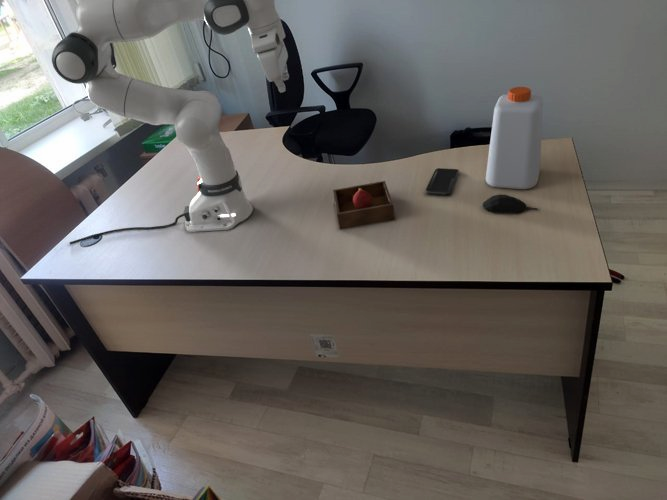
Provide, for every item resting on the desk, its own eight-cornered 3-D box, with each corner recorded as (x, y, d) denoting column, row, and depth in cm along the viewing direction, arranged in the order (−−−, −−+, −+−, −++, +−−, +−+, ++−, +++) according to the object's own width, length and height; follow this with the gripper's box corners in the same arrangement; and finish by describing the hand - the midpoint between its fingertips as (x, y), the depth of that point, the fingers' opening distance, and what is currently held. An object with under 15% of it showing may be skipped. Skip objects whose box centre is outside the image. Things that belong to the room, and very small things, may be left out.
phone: (425, 191, 149) (436, 167, 160) (425, 194, 150) (436, 170, 160) (450, 193, 146) (459, 169, 157) (450, 196, 147) (459, 172, 157)
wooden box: (339, 229, 142) (336, 214, 139) (335, 204, 154) (333, 189, 150) (394, 219, 142) (393, 204, 138) (386, 195, 153) (384, 180, 150)
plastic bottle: (491, 164, 158) (496, 80, 141) (540, 167, 152) (551, 80, 135) (483, 188, 148) (486, 100, 131) (535, 192, 142) (546, 100, 125)
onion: (373, 204, 149) (370, 182, 144) (372, 215, 145) (370, 192, 140) (354, 206, 150) (351, 184, 145) (353, 216, 146) (350, 194, 141)
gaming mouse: (537, 215, 132) (538, 203, 130) (481, 213, 137) (482, 201, 135) (537, 203, 137) (538, 191, 135) (483, 201, 142) (484, 189, 140)
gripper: (262, 28, 135) (278, 75, 143) (250, 49, 119) (269, 101, 127) (283, 21, 134) (298, 70, 142) (274, 42, 118) (292, 95, 126)
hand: (284, 85), depth 134 cm, fingers open, 8 cm apart
